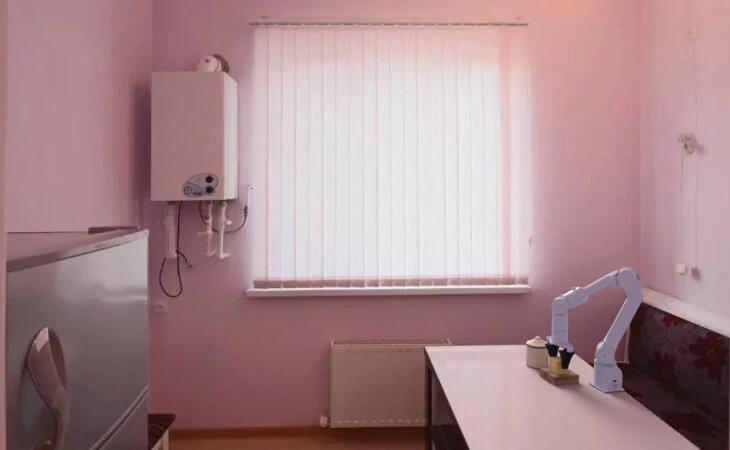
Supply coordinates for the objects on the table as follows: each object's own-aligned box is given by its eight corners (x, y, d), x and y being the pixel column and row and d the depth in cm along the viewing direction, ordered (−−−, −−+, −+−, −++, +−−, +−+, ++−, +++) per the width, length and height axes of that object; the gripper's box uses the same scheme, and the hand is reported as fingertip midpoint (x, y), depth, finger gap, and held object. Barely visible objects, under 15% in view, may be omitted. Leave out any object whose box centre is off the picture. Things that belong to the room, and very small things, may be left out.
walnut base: (578, 383, 197) (579, 375, 196) (554, 385, 195) (554, 377, 194) (563, 373, 206) (563, 366, 206) (539, 376, 204) (539, 368, 204)
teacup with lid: (552, 368, 212) (552, 340, 211) (529, 369, 212) (529, 340, 211) (542, 359, 224) (542, 331, 223) (520, 359, 224) (520, 332, 223)
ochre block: (568, 373, 198) (568, 360, 198) (556, 374, 197) (556, 361, 197) (560, 369, 203) (561, 356, 203) (548, 370, 202) (549, 357, 202)
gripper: (539, 325, 205) (539, 360, 206) (561, 335, 191) (560, 372, 192) (556, 324, 207) (555, 358, 208) (578, 334, 193) (578, 371, 194)
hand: (559, 365), depth 200 cm, fingers open, 7 cm apart
